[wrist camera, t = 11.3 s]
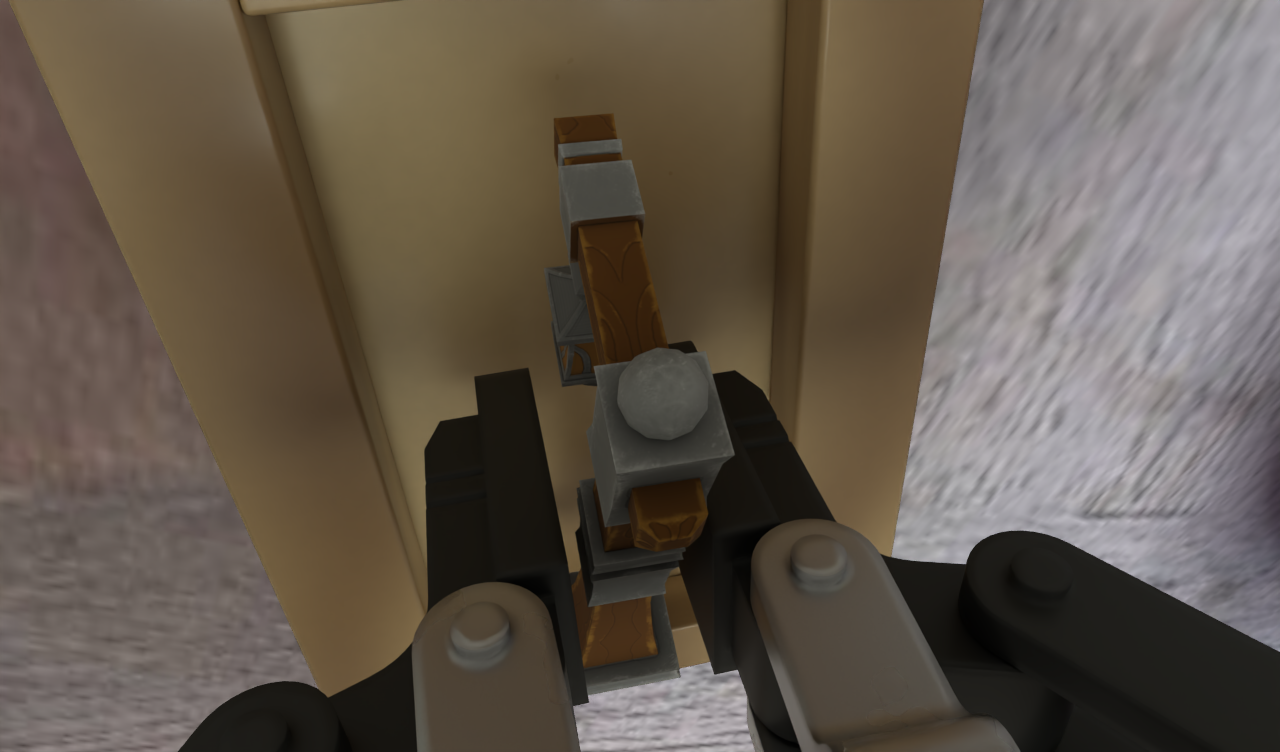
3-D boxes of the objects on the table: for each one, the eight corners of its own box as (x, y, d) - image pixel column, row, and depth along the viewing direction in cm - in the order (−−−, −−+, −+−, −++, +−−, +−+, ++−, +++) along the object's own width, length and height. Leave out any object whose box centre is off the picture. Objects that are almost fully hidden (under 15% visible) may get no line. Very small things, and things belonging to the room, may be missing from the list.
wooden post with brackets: (679, 33, 8) (818, 455, 6) (627, 425, 15) (683, 691, 13) (489, 46, 8) (562, 494, 6) (523, 439, 15) (562, 715, 13)
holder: (349, 621, 17) (340, 744, 15) (58, -134, 10) (-43, -102, 8) (827, 526, 19) (881, 626, 17) (901, -200, 11) (1020, -191, 9)
